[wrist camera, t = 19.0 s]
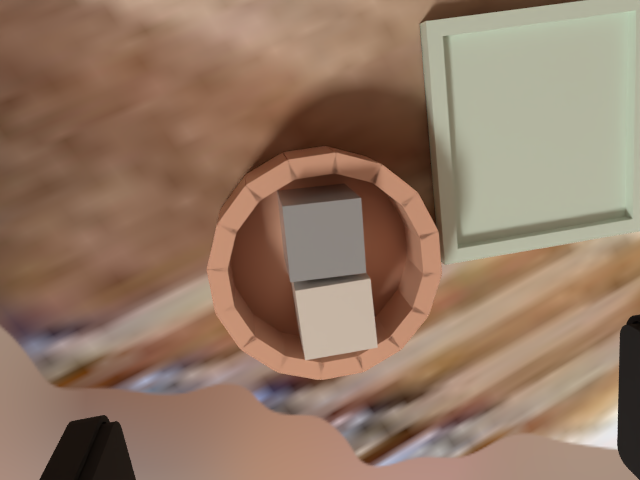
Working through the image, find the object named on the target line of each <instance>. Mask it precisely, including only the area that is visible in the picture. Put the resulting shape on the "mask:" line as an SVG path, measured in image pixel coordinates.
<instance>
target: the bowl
mask: <svg viewBox="0 0 640 480" xmlns="http://www.w3.org/2000/svg"><path fill="white" fill-rule="evenodd" d="M343 183H345V184H346V185H347V186H348V187H349V188H350V189H352V190H353V191H354V192H355V193H356V194H357V195H358V196H360V197H361V202H362V217H363V232H364V247H365V261H366V273H367V274H368V276H369V277H370V280H371V289H372V298H373V308H374V317H375V327H376V336H377V345H378V348H373V349H367V350H361V351H356V352H350V353H344V354H339V355H333V356H327V357H321V358H316V359H310V360H305V357H304V353H303V348H302V344H301V340H300V335H299V331H298V326H297V321H296V314H295V307H294V300H293V293H292V286H291V282H290V279H289V275H288V271H287V267H286V263H285V259H284V252H283V243H282V234H281V224H280V215H279V206H278V196H277V191H278V190H287V189H297V188H306V187H315V186H324V185H334V184H343ZM207 274H208V279H209V284H210V289H211V294H212V299H213V304H214V309H215V313H216V315H217V317H218V318H219V320H220V321H221V322H222V324H223V325H224V327H225V328H226V330H227V331H228V332H229V334H230V335H231V337H232V338H233V339H234V341H235V342H236V344H237V345H238V347H239V348H240V349H241V350H242V351H244V352H245V353H247V354H249V355H250V356H252V357H253V358H255V359H257V360H258V361H260V362H261V363H263V364H265V365H266V366H268V367H269V368H271V369H273V370H274V371H276V372H278V373H283V374H289V375H294V376H300V377H305V378H311V379H317V380H320V379H321V380H324V379H329V378H335V377H340V376H345V375H351V374H356V373H361V372H363V371H364V372H365V371H366V370H368V369H370V368H371V367H373V366H375V365H376V364H378V363H380V362H381V361H383V360H385V359H386V358H388V357H390V356H391V355H393V354H395V353H397V352H398V351H400V350H401V349H402V348H403V347H404V346H405V344H406V343H407V342H408V341H409V340H410V338H411V337H412V336H413V335H414V333H415V332H416V331H417V330H418V328H419V327H420V326H421V325H422V323H423V322H424V321H425V320H426V318H427V317H428V315H429V313H430V310H431V307H432V304H433V301H434V298H435V295H436V292H437V288H438V285H439V282H440V279H441V276H442V275H441V274H442V268H441V256H440V243H439V232H438V229H437V227H436V225H435V224H434V222H433V220H432V218H431V216H430V214H429V212H428V210H427V209H426V207H425V205H424V203H423V201H422V199H421V197H420V195H419V194H418V192H417V191H416V190H414V189H413V188H412V187H410V186H409V185H408V184H407V183H405V182H404V181H403V180H401V179H400V178H399V177H398V176H396V175H395V174H394V173H392V172H391V171H390V170H389V169H387V168H386V167H385V166H384V165H382V164H380V163H378V162H376V161H374V160H372V159H370V158H368V157H366V156H363V155H359V154H355V153H351V152H347V151H343V150H340V149H336V148H332V147H328V146H321V147H314V148H307V149H301V150H294V151H287V152H283V153H280V154H279V155H277V156H276V157H274V158H272V159H271V160H269V161H267V162H266V163H264V164H262V165H261V166H259V167H257V168H256V169H254V170H252V171H251V172H249V173H247V174H246V175H245V176H244V177H243V179H242V180H241V181H240V183H239V184H238V186H237V187H236V188H235V190H234V191H233V192H232V194H231V195H230V197H229V198H228V199H227V201H226V202H225V203H224V205H223V206H222V208H221V209H220V213H219V217H218V221H217V226H216V230H215V235H214V239H213V244H212V248H211V253H210V257H209V262H208V266H207Z"/></svg>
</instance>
